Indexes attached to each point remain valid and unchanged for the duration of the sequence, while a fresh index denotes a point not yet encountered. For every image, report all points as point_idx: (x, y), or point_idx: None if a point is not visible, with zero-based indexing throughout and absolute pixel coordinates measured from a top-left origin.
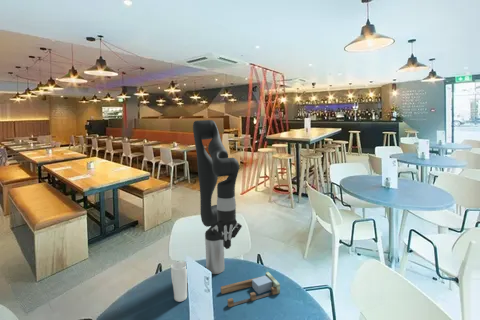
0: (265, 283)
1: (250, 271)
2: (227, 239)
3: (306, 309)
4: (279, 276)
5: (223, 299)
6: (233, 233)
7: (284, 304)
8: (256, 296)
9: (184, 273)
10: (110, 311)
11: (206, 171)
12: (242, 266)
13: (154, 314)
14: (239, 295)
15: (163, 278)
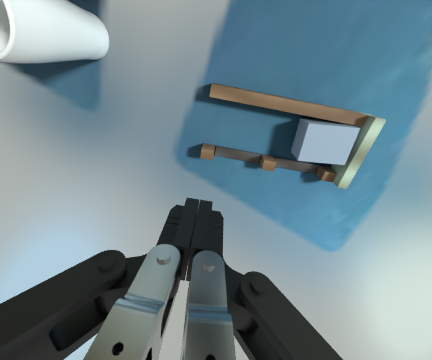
0: (322, 162)
1: (372, 25)
2: (191, 267)
3: (325, 235)
4: (408, 119)
5: (203, 118)
6: (271, 306)
7: (306, 207)
8: (278, 159)
9: (29, 60)
10: None
11: None
12: None
13: (20, 69)
14: (248, 128)
15: None
